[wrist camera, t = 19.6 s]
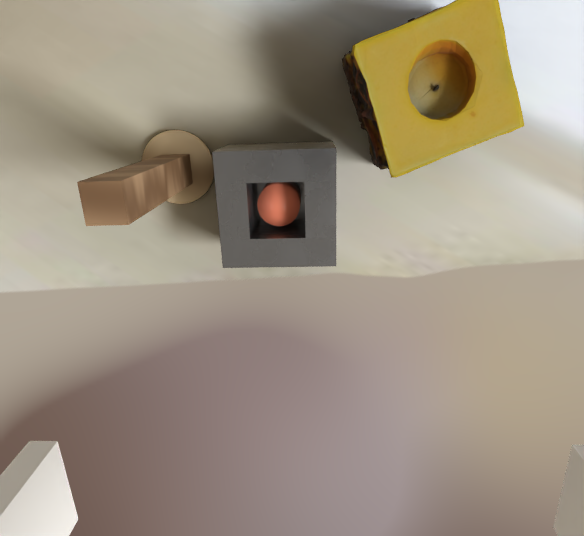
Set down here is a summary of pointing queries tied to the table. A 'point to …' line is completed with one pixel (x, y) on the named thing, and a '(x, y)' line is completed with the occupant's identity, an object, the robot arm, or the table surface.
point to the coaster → (199, 161)
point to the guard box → (244, 196)
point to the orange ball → (279, 203)
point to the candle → (434, 85)
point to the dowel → (133, 189)
